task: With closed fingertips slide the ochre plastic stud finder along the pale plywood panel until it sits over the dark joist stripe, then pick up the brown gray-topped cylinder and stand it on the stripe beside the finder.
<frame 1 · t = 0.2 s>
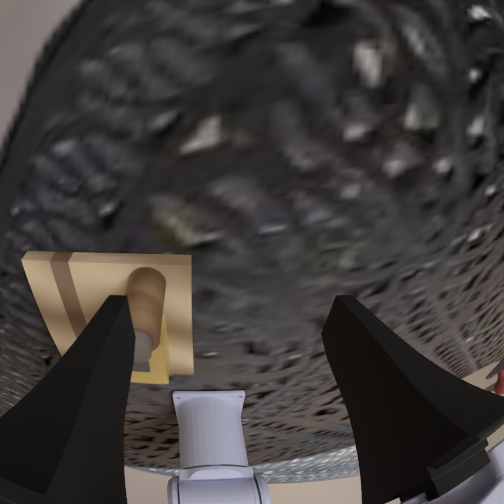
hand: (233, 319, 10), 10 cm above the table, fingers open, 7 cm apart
stud finder: (142, 335, 22), point 1 cm above the table, touching plywood panel
plywood panel: (114, 316, 22), on the table
brown gray-topped cylinder: (147, 282, 19), point 1 cm above the table, touching plywood panel
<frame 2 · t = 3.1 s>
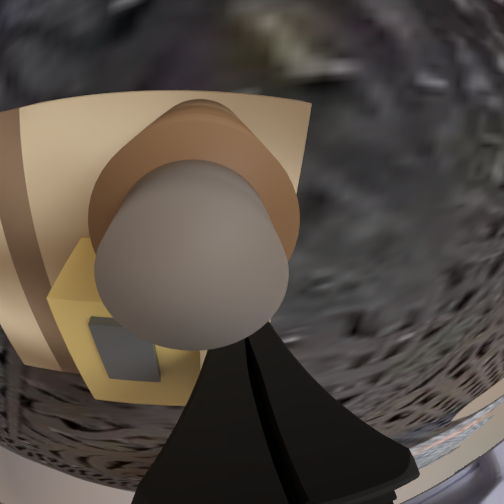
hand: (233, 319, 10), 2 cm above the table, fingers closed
stud finder: (144, 298, 10), point 1 cm above the table, touching gripper, plywood panel
plywood panel: (106, 262, 10), on the table
brown gray-topped cylinder: (198, 144, 8), point 1 cm above the table, touching plywood panel
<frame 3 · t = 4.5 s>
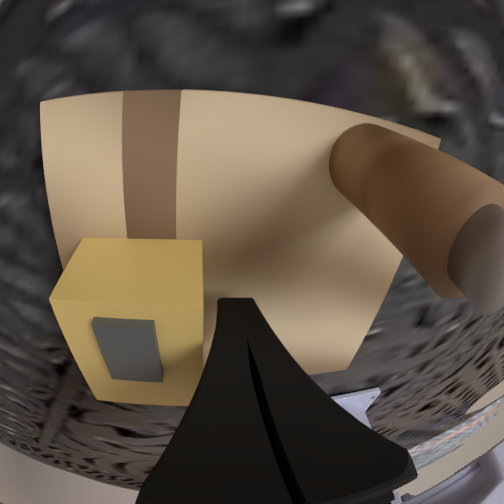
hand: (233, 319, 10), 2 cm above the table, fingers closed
stud finder: (146, 298, 10), point 1 cm above the table, touching gripper, plywood panel
plywood panel: (236, 264, 11), on the table
brown gray-topped cylinder: (366, 162, 9), point 1 cm above the table, touching plywood panel
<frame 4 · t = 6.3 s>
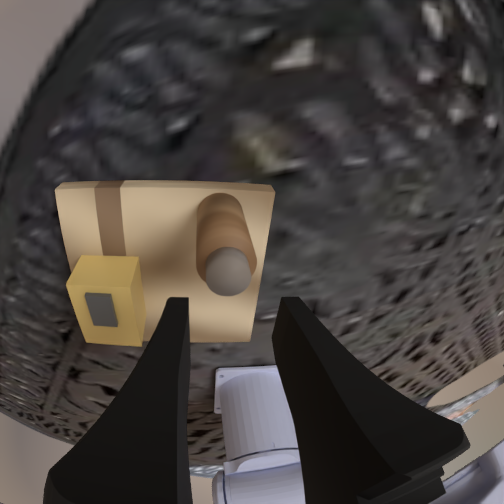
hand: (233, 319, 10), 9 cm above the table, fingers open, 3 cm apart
stud finder: (114, 286, 18), point 1 cm above the table, touching plywood panel
plywood panel: (163, 268, 20), on the table
brown gray-topped cylinder: (219, 213, 17), point 1 cm above the table, touching plywood panel
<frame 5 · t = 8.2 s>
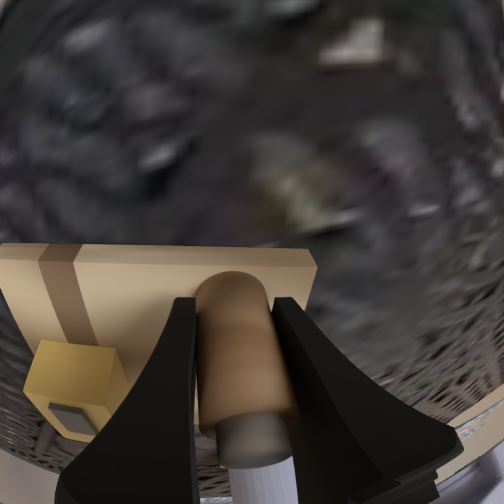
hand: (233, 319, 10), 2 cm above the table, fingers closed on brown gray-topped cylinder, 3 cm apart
stud finder: (90, 375, 12), point 1 cm above the table, touching plywood panel
plywood panel: (152, 352, 14), on the table
brown gray-topped cylinder: (230, 299, 11), point 1 cm above the table, touching gripper, plywood panel
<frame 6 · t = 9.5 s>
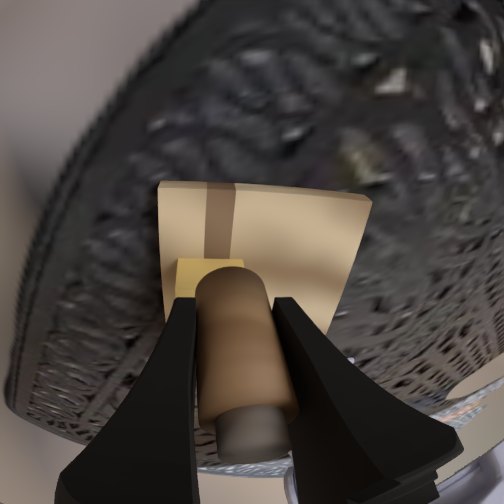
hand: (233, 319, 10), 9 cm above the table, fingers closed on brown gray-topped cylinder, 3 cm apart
stud finder: (209, 290, 19), point 1 cm above the table, touching plywood panel
plywood panel: (257, 270, 21), on the table
brown gray-topped cylinder: (230, 295, 11), point 8 cm above the table, touching gripper
when the fingers open (3 cm above the table, at t = 10.9 s): brown gray-topped cylinder stays where it is, resting on plywood panel.
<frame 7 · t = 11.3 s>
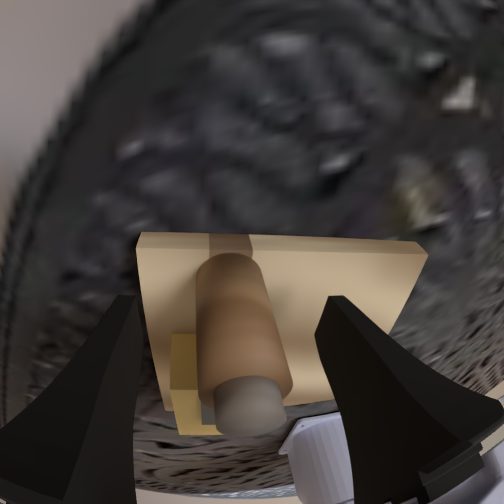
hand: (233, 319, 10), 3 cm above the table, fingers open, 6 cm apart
stud finder: (214, 365, 14), point 1 cm above the table, touching plywood panel
plywood panel: (275, 336, 16), on the table
brown gray-topped cylinder: (229, 280, 12), point 1 cm above the table, touching plywood panel
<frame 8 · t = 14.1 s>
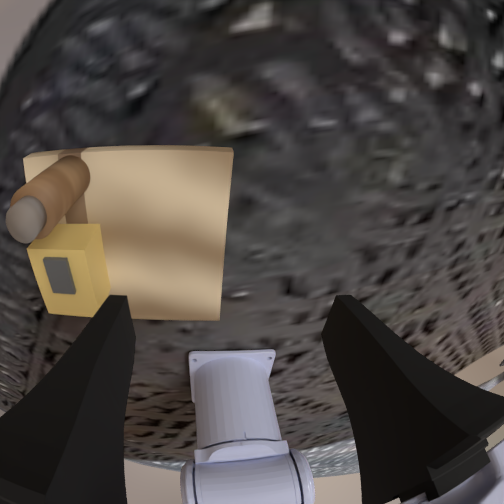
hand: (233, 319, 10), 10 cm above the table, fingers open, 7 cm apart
stud finder: (78, 257, 17), point 1 cm above the table, touching plywood panel
plywood panel: (127, 238, 18), on the table
brown gray-topped cylinder: (71, 176, 14), point 1 cm above the table, touching plywood panel
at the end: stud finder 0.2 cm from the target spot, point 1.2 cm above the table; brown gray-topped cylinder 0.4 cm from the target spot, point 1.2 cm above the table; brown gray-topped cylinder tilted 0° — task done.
